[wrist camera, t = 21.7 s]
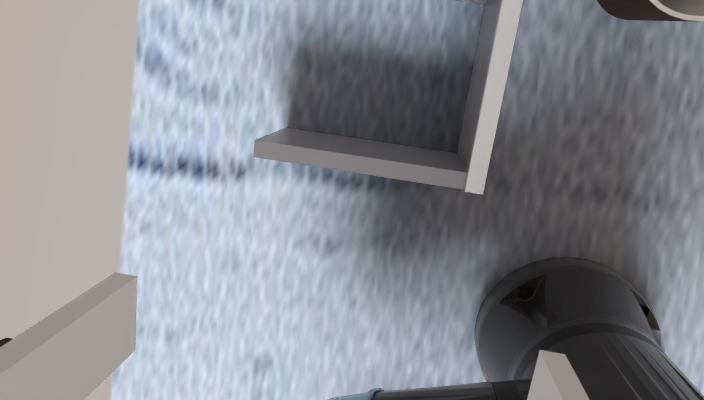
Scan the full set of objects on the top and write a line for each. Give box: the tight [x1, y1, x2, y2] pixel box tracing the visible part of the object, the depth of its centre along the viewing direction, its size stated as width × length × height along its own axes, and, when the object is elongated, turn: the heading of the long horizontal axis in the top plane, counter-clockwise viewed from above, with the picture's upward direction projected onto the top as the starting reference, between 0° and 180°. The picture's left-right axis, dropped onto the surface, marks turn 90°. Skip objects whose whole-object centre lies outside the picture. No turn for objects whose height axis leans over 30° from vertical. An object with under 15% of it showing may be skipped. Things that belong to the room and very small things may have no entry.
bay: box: [253, 0, 523, 194], centre depth 37 cm, size 16×14×10 cm
